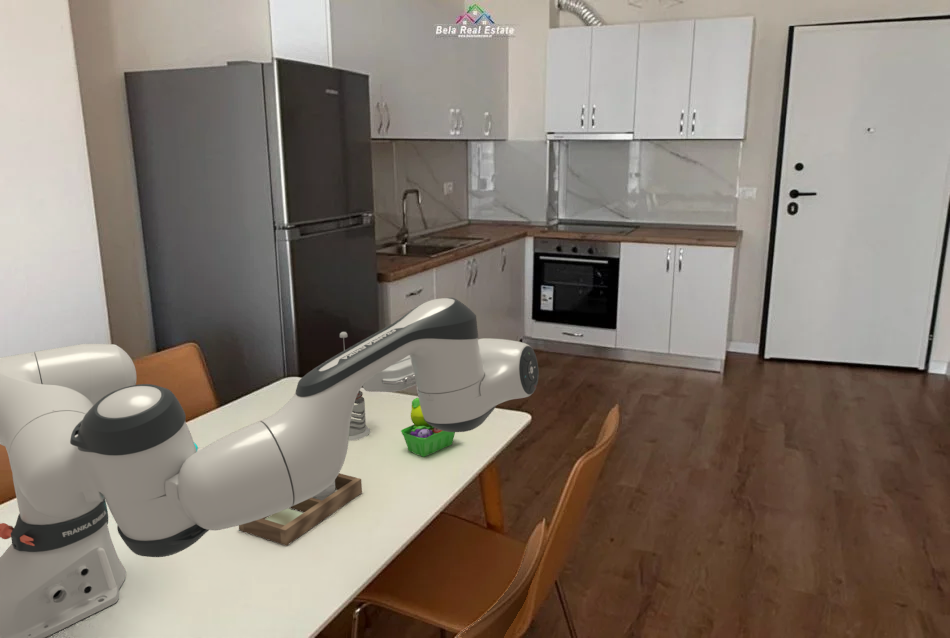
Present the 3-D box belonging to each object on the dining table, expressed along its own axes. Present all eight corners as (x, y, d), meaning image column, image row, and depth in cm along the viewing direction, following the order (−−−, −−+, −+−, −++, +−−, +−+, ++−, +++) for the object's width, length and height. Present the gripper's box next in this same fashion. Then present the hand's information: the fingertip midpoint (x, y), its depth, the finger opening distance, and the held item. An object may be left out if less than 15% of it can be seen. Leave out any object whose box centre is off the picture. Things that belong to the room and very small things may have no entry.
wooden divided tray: (286, 545, 125) (285, 530, 124) (239, 530, 130) (237, 515, 129) (362, 492, 143) (361, 478, 142) (317, 480, 148) (316, 467, 147)
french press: (375, 436, 170) (369, 334, 163) (325, 445, 165) (317, 340, 159) (365, 421, 178) (359, 324, 172) (318, 429, 174) (310, 330, 168)
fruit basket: (423, 461, 156) (421, 412, 154) (396, 449, 162) (394, 402, 160) (460, 444, 164) (458, 398, 162) (433, 434, 170) (432, 389, 168)
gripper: (403, 405, 104) (339, 398, 112) (486, 369, 120) (424, 365, 128) (397, 362, 103) (332, 359, 111) (481, 332, 119) (419, 331, 127)
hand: (382, 362), depth 120 cm, fingers open, 8 cm apart
